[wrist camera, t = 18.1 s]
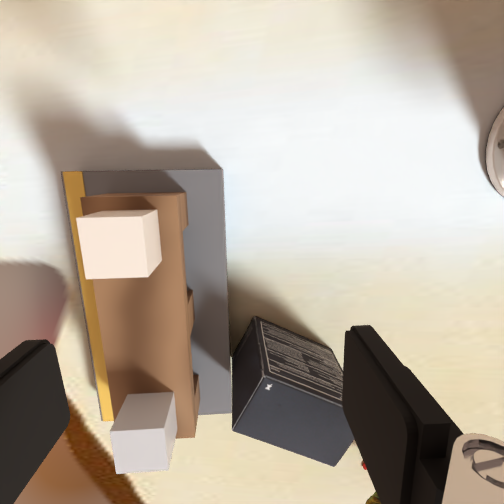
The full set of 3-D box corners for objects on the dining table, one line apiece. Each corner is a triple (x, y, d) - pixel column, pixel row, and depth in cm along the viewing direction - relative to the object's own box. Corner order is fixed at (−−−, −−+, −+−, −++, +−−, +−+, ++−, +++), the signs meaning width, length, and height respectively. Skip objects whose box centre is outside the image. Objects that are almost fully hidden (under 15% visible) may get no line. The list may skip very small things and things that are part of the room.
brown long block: (186, 192, 28) (176, 195, 23) (200, 398, 33) (194, 437, 28) (107, 193, 27) (80, 197, 22) (134, 402, 33) (117, 442, 28)
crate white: (157, 209, 23) (142, 216, 19) (161, 260, 24) (148, 277, 20) (102, 210, 23) (76, 218, 19) (109, 262, 24) (85, 279, 20)
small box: (228, 360, 36) (227, 434, 25) (253, 313, 34) (262, 371, 24) (307, 391, 37) (334, 473, 27) (333, 348, 36) (373, 416, 26)
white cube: (173, 391, 27) (164, 428, 23) (177, 429, 28) (168, 470, 24) (127, 394, 27) (109, 431, 23) (132, 432, 28) (116, 473, 24)
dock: (223, 169, 30) (222, 169, 27) (231, 394, 37) (231, 413, 34) (77, 171, 30) (60, 171, 26) (112, 400, 36) (101, 421, 33)
